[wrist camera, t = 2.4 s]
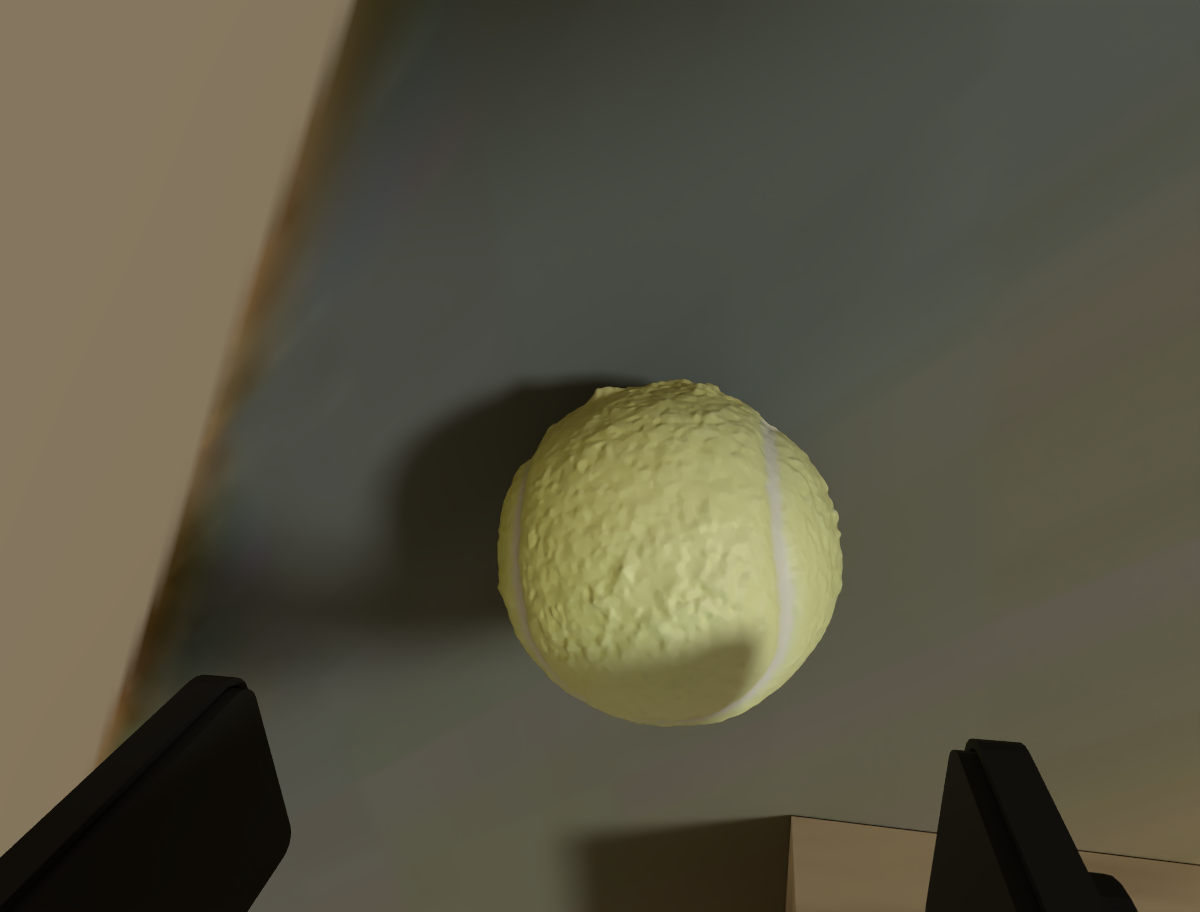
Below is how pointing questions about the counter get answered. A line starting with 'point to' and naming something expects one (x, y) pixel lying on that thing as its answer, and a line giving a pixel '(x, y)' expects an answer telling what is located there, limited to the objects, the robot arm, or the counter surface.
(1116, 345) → the counter surface
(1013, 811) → the robot arm
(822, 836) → the wooden box
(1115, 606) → the counter surface
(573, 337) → the counter surface
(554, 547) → the tennis ball
